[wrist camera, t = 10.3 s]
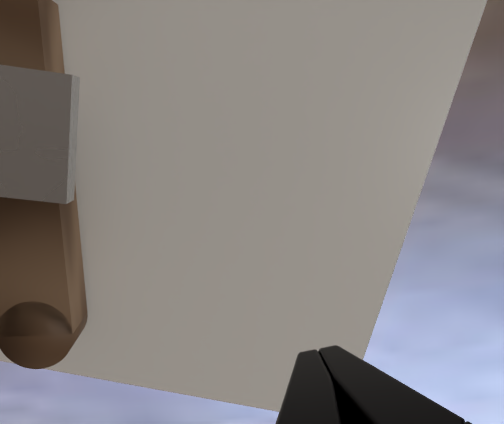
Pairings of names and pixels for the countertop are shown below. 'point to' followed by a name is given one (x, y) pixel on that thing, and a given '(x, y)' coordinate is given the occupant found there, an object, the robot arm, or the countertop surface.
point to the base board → (248, 178)
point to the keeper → (38, 134)
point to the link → (38, 221)
